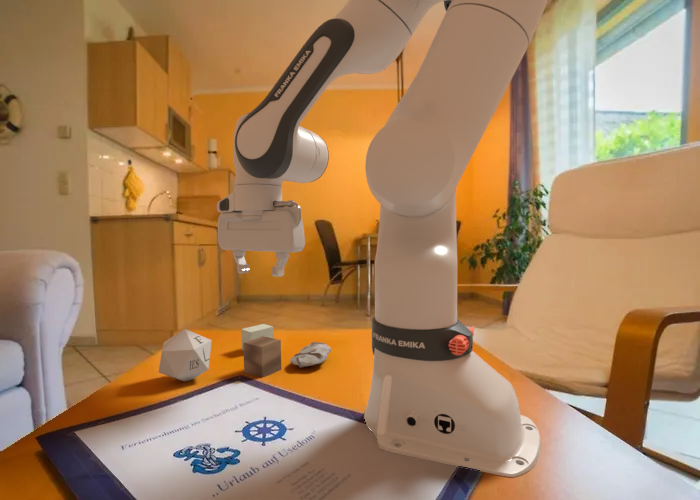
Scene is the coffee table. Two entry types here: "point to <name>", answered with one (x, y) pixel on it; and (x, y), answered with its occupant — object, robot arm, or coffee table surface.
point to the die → (185, 356)
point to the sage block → (256, 332)
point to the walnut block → (262, 356)
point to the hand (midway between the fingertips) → (260, 274)
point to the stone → (311, 354)
